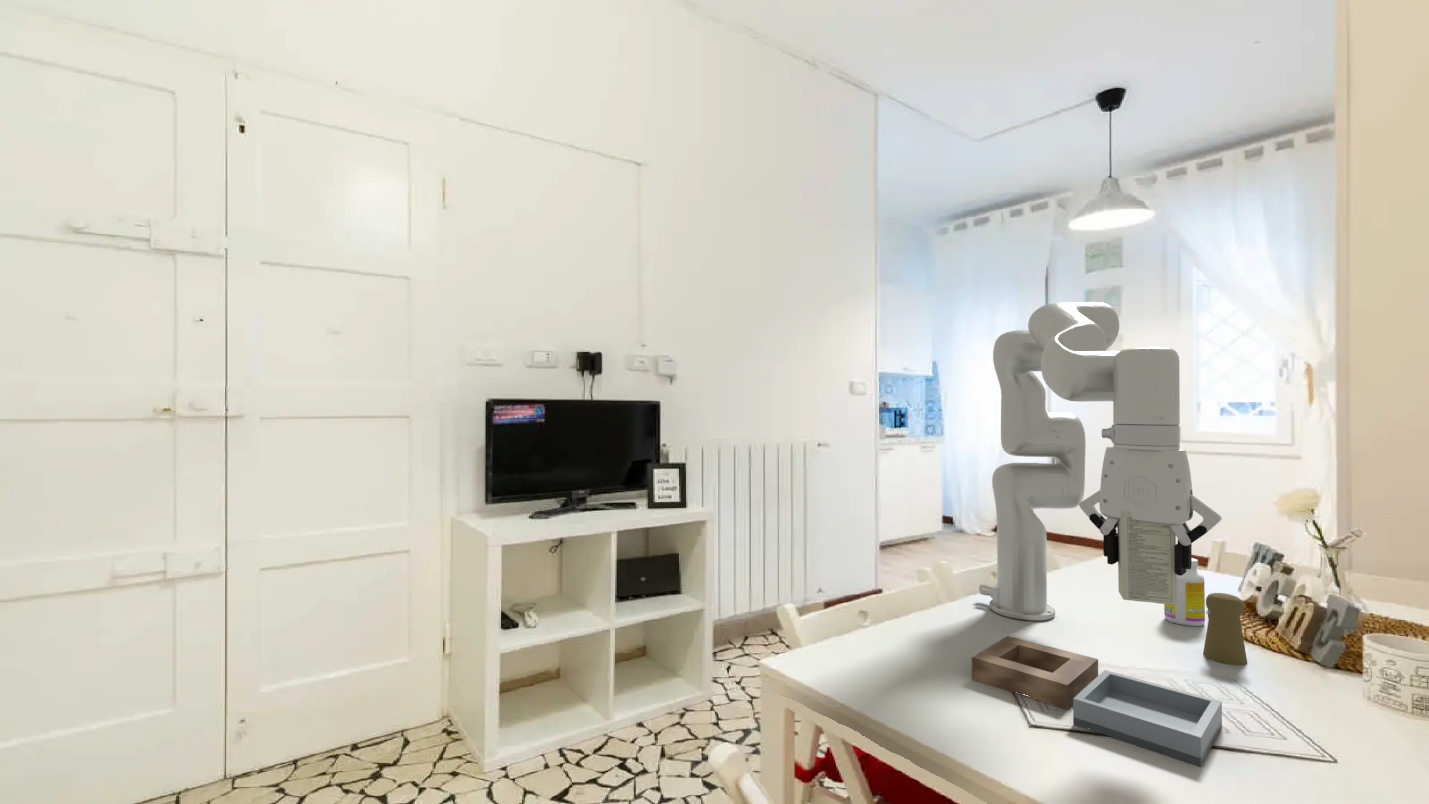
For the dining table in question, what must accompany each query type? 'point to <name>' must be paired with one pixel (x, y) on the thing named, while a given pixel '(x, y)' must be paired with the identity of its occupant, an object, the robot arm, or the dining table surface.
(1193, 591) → the supplement bottle
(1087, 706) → the tray
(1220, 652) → the cork
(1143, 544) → the skincare box
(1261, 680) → the dining table surface
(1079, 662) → the frame
